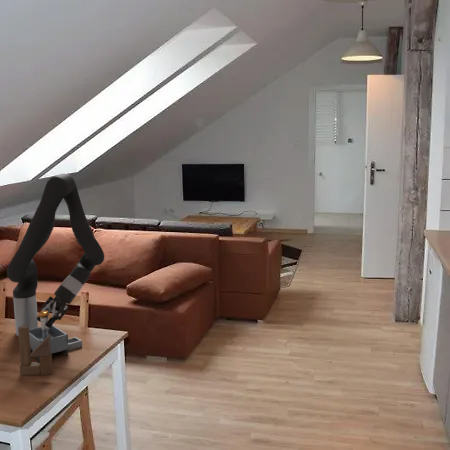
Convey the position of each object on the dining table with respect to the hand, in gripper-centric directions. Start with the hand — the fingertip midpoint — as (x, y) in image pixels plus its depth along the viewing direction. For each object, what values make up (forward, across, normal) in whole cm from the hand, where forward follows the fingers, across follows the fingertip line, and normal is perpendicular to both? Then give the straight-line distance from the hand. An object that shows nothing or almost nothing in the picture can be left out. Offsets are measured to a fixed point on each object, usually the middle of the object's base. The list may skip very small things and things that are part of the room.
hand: (42, 323), depth 203 cm
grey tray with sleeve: (+5, 0, +12) cm, 14 cm away
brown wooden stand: (+15, +14, +3) cm, 21 cm away
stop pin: (+4, 0, +6) cm, 7 cm away
